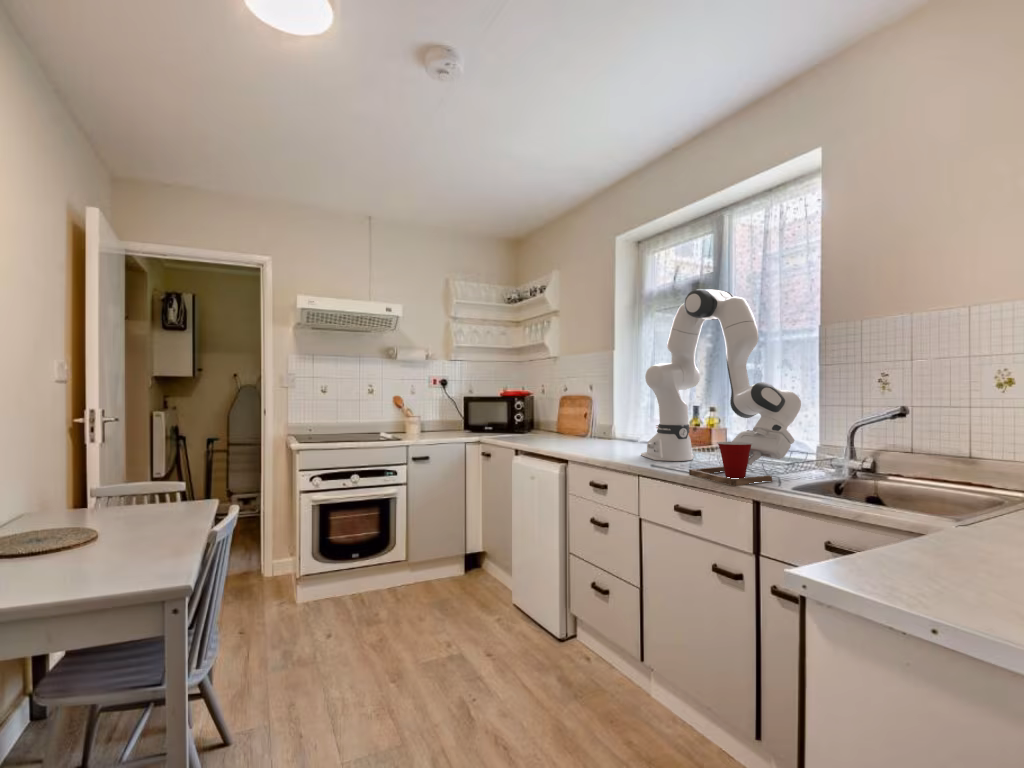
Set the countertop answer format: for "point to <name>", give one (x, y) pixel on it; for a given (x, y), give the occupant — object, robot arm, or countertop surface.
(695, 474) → the tray
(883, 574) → the countertop surface
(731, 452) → the plastic cup
